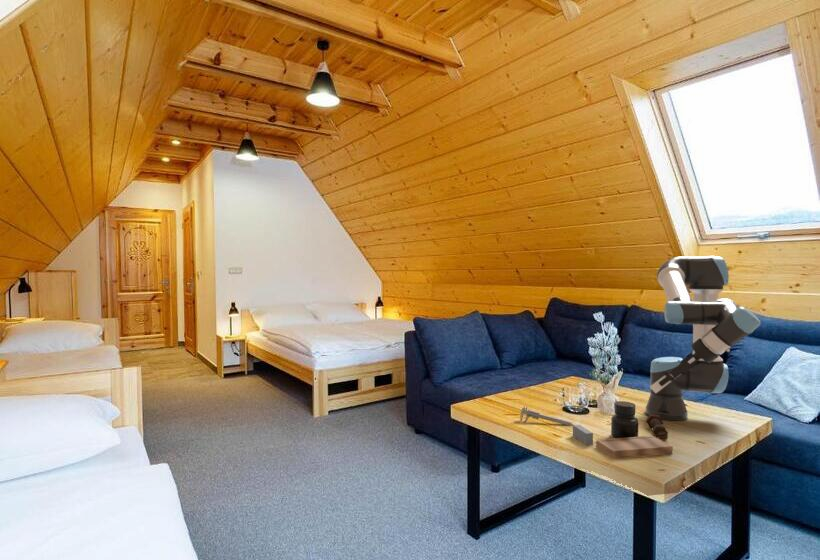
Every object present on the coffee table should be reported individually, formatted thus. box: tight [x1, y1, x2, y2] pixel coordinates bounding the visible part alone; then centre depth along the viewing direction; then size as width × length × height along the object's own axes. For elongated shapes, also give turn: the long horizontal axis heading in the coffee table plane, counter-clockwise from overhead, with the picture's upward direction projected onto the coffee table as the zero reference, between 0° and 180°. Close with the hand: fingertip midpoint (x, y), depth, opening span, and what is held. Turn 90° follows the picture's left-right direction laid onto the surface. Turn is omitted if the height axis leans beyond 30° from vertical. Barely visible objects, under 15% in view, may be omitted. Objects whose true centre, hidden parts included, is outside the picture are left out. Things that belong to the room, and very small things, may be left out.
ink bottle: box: [610, 400, 639, 439], centre depth 170 cm, size 10×9×12 cm
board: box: [595, 435, 674, 460], centre depth 158 cm, size 21×10×2 cm, turn 100°
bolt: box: [645, 415, 669, 441], centre depth 173 cm, size 6×5×15 cm
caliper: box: [520, 405, 576, 426], centre depth 186 cm, size 20×1×6 cm, turn 72°
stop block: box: [572, 424, 594, 446], centre depth 167 cm, size 2×9×4 cm, turn 10°
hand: (657, 386), depth 162 cm, fingers open, 13 cm apart
